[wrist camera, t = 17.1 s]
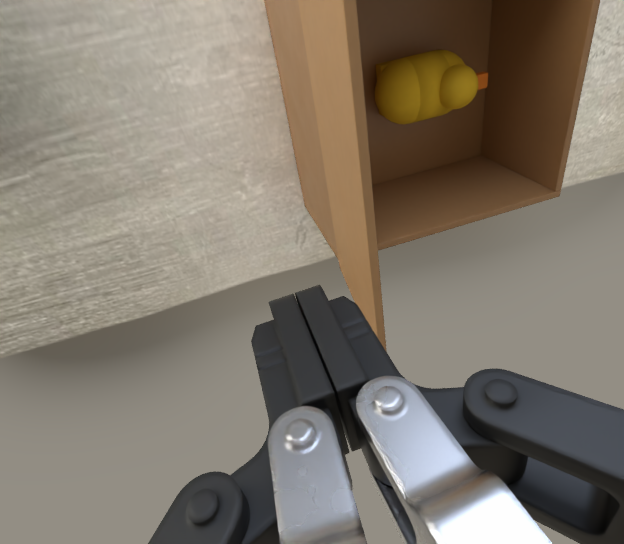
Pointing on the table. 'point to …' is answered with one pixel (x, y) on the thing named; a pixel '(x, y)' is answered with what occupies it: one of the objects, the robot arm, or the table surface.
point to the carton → (458, 122)
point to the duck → (425, 86)
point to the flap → (345, 146)
